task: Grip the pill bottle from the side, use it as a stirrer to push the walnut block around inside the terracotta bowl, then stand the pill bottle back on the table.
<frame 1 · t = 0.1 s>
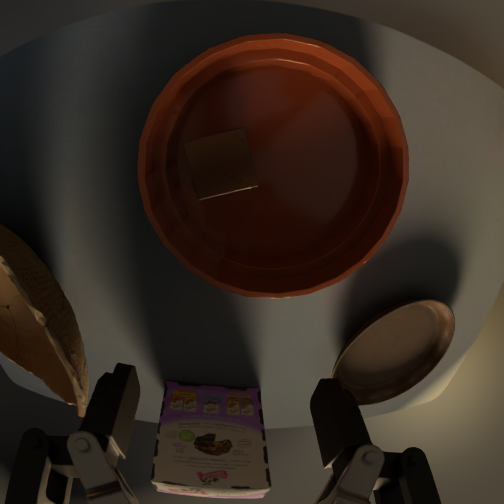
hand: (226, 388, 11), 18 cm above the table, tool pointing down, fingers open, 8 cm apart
block: (223, 157, 23), point 1 cm above the table, touching bowl
plant saucer: (390, 346, 36), on the table
ceramic bowl: (27, 284, 28), on the table
bowl: (273, 163, 24), on the table
candy box: (212, 394, 38), on the table
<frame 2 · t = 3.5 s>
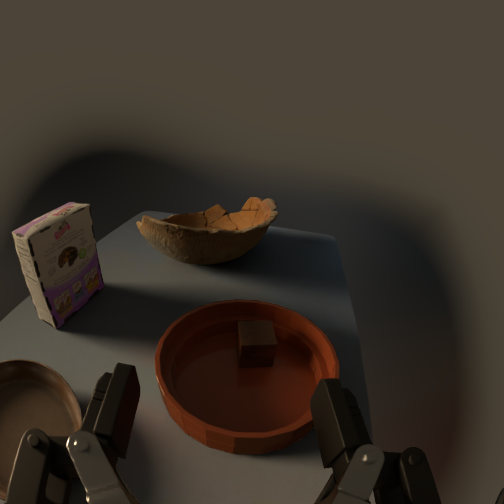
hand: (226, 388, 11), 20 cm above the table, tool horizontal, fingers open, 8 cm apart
block: (253, 355, 36), point 1 cm above the table, touching bowl
plant saucer: (23, 436, 18), on the table
ceramic bowl: (206, 254, 62), on the table
bowl: (245, 382, 33), on the table
candy box: (72, 303, 41), on the table
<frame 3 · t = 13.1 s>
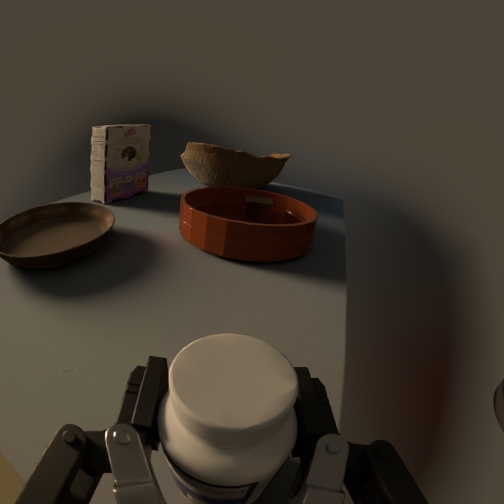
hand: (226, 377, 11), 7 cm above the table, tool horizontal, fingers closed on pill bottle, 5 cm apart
block: (255, 223, 49), point 1 cm above the table, touching bowl
pill bottle: (219, 474, 12), on the table, touching gripper
plant saucer: (53, 244, 33), on the table
ceramic bowl: (232, 188, 77), on the table
bowl: (245, 234, 45), on the table
candy box: (120, 196, 58), on the table
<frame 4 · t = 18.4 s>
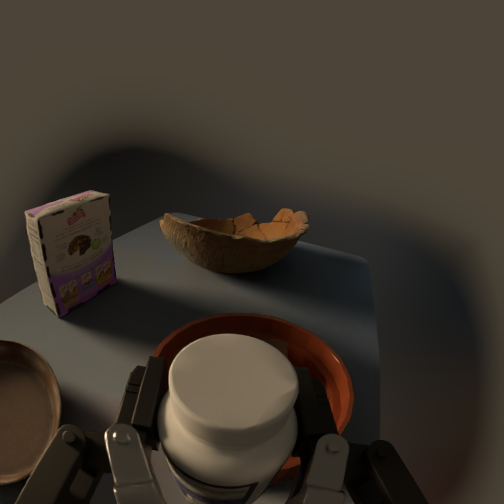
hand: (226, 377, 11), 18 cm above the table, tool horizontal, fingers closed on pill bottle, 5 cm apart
block: (262, 376, 32), point 1 cm above the table, touching bowl
pill bottle: (219, 474, 12), point 11 cm above the table, touching gripper
plant saucer: (0, 417, 16), on the table
ceramic bowl: (229, 262, 60), on the table
bowl: (247, 404, 28), on the table
candy box: (80, 294, 41), on the table
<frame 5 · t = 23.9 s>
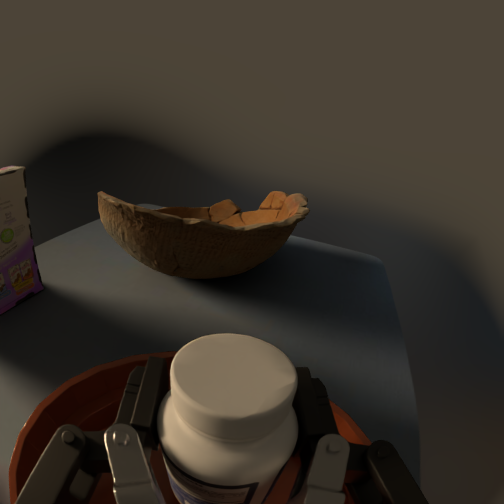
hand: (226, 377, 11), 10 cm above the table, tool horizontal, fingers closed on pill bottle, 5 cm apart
pill bottle: (219, 485, 11), point 4 cm above the table, touching block, gripper
ceramic bowl: (199, 263, 43), on the table
candy box: (0, 304, 24), on the table
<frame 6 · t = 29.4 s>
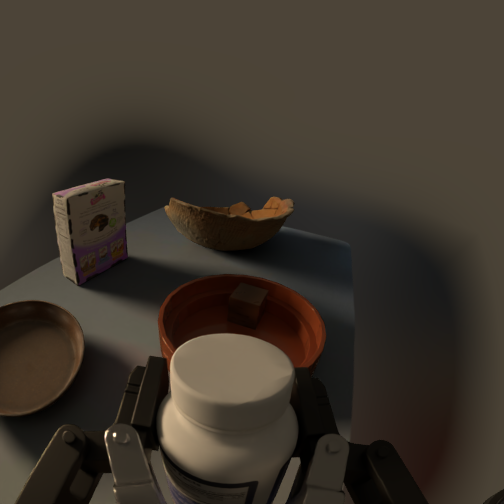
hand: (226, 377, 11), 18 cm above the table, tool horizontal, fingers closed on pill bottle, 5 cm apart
block: (246, 317, 42), point 1 cm above the table, touching bowl
pill bottle: (220, 495, 10), point 11 cm above the table, touching gripper
plant saucer: (24, 365, 25), on the table
ceramic bowl: (225, 243, 68), on the table
bowl: (239, 347, 37), on the table
candy box: (96, 268, 49), on the table
when the fingers open (7 cm above the table, at t = 34.6 s): pill bottle stays where it is, on the table.
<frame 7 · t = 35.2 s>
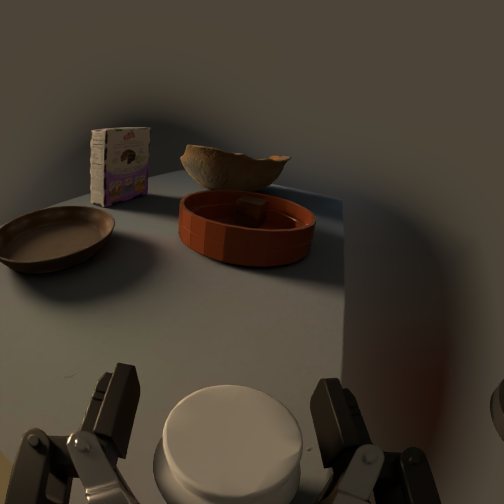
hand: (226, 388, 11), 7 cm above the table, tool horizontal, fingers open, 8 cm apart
block: (250, 223, 51), point 1 cm above the table, touching bowl
pill bottle: (219, 501, 11), on the table
plant saucer: (53, 248, 33), on the table
ceramic bowl: (231, 191, 77), on the table
bowl: (244, 238, 46), on the table
candy box: (119, 199, 58), on the table
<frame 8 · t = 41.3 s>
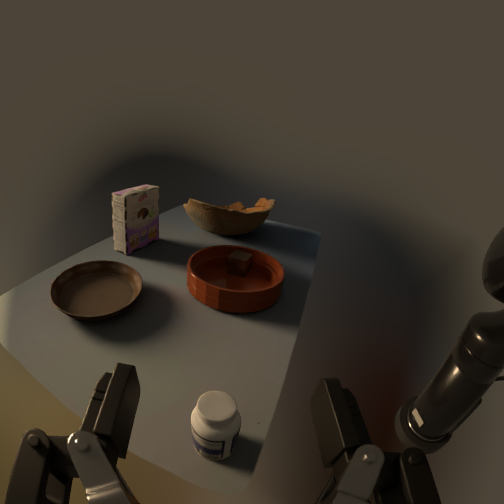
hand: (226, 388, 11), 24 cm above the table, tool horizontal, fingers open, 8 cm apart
block: (238, 271, 69), point 1 cm above the table, touching bowl
pill bottle: (214, 444, 28), on the table
plant saucer: (97, 297, 51), on the table
ceramic bowl: (226, 231, 95), on the table
bowl: (233, 286, 63), on the table
candy box: (136, 245, 76), on the table
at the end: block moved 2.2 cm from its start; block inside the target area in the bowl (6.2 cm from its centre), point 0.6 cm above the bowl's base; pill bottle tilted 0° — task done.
